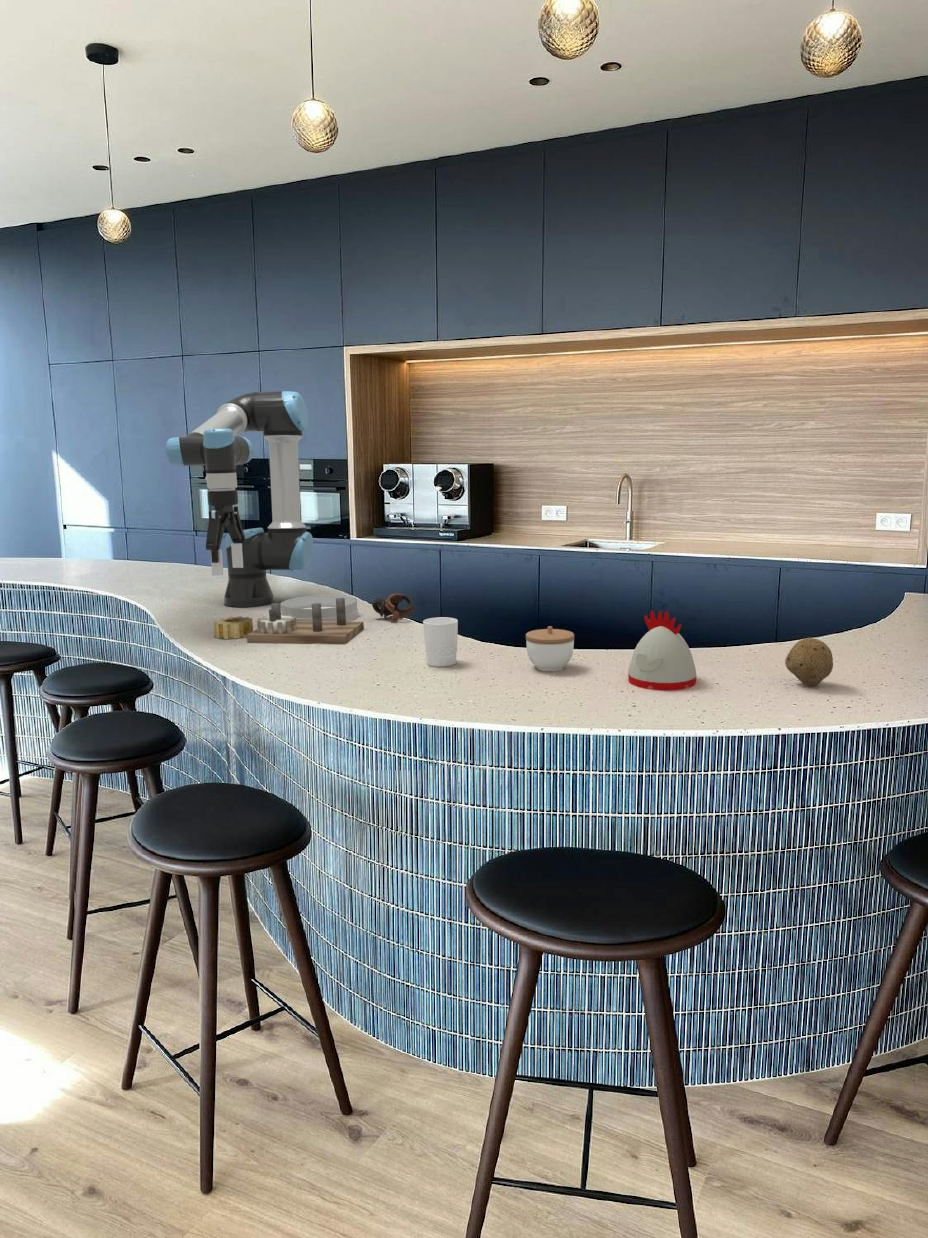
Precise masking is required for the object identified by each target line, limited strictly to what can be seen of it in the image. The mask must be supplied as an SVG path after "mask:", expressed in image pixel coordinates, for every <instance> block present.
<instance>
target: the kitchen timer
mask: <svg viewBox="0 0 928 1238" xmlns="http://www.w3.org/2000/svg"><path fill="white" fill-rule="evenodd" d="M649 617H650V618H649ZM649 617H648V615H644V617H643V618H644V621H645V624H646V626H647V629H648V631H647V632H646V633H645V634H644V635H643V636H642V638H640V640H639V641H638V643H637V644H636V647H635V648H634V650H633V654H632V656H631V659H630V663H629V665H628V672H627V673H628V674H627V676H628V679H627V681H628V683H629V684H631V685H632V686H635V687H637V688H641V689H645V690H651V691H681V690H686V689H690V688H692V687H694V686H695V685H696V683H697V670H696V665H695V662H694V661H695V660H694V659H693V655H692V651H691V649H690V647H689V645H688V643H687V642H686V640H685V639H684V637H683V636H682V634H680V630H681V627H682V623H680V624H678V625H677V627H676V628H675V623H676V617H673V618H672V619H670V613H669V611H666V612H664V616H663V611H662V610H660V611H658V612H657V618H656V614H655V611H654V610H651V611H650V613H649Z"/></svg>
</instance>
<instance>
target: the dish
mask: <svg viewBox="0 0 928 1238" xmlns="http://www.w3.org/2000/svg"><path fill="white" fill-rule="evenodd" d="M336 598H345V614H346V621H351V620H352V621H354V620H356V619H357V618H358V617H359V609H358V601H357V600H358V599H356V597H352V596H347V595H339V594H335V595H334V594H318V595H307V596H306V595H305V596H299V597H292V598H289V599H286V600H284V601H282V602H280V606H281V615H285V616H290V615H291V616H293V617H296V621H312V604H315V603H320V604H321V614H322V621H337V615H336ZM353 619H354V620H353Z"/></svg>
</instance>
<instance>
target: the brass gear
mask: <svg viewBox="0 0 928 1238" xmlns="http://www.w3.org/2000/svg"><path fill="white" fill-rule="evenodd" d="M212 624H213V634H214V635H213V636H214V638H216V639H218V638H221V639H223V638H224V640H229V638H234V640H236V639H235V638H238V639H241V638H242V637H243V639H245V638H247V634H249V633H251V632H252V631H254V626H253V625H254V624H253V618H251V617H249V616H246V617H245V616H229V617H221V618H219V619H215V620H214V621H213V623H212Z"/></svg>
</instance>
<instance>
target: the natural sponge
mask: <svg viewBox="0 0 928 1238" xmlns="http://www.w3.org/2000/svg"><path fill="white" fill-rule="evenodd" d="M784 659H785V660H784V663H785V667H786V669H787V670H788V671H789V672H790V673H791V674H793V675H794V676H795V677H796V678H797V680H798V681H800V683H802V684H803V685H805V686H806V687H810V688H811V687H812V688H813V687H816V686H818V685H819V684H820V683H822V681H824V679H826V678H828V676H830V674H831V673H832V671H833V669H834V657H833V653H832V651H831V648H830V647H829V646H828V644H827V643H825V642H824V641H822V640H820V639H817V638H815V637H806V638H802V639H800V640H798V641H797V642H796V643H795V644H794V645H793V646H792V647H791V649H790V650H789V652H788V653H787V655H786V657H785V658H784Z"/></svg>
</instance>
